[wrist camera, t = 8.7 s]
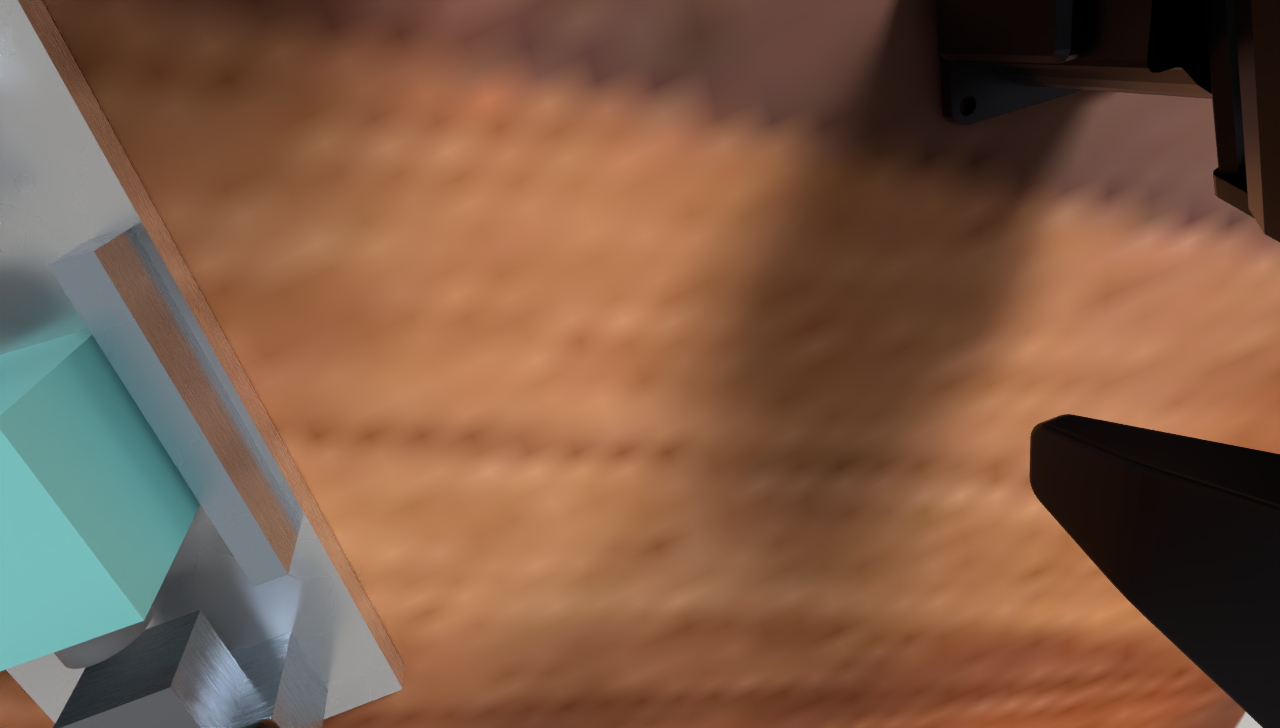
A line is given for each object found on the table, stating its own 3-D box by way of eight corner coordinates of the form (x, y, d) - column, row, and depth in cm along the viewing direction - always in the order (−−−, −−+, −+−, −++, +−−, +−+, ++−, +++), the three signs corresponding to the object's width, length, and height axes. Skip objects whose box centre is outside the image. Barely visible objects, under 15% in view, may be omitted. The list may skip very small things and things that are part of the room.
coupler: (63, 258, 15) (-69, 337, 11) (236, 536, 18) (184, 674, 14) (-179, 327, 14) (-413, 437, 10) (47, 601, 18) (-62, 764, 14)
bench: (-33, -136, 13) (-242, -219, 9) (403, 663, 22) (399, 801, 18) (-559, -29, 12) (-1074, -67, 8) (134, 765, 21) (66, 936, 17)
